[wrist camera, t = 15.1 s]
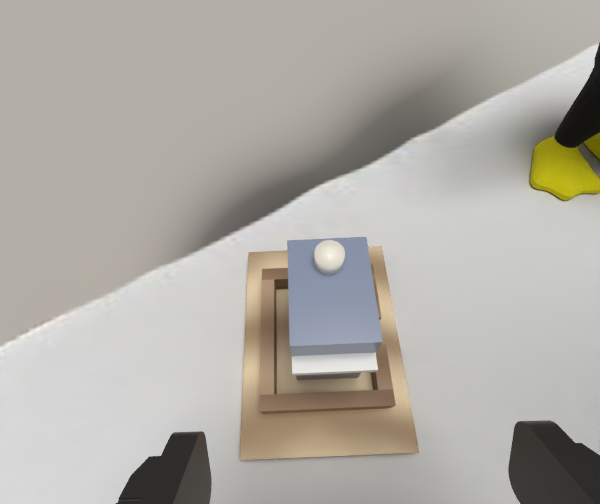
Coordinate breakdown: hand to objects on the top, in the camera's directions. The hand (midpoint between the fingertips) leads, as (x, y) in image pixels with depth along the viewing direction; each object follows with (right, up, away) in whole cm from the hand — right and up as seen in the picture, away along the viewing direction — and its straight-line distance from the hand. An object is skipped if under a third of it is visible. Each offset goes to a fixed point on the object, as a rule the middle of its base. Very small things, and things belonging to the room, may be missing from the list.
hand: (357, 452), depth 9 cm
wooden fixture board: (0, -2, +19) cm, 19 cm away
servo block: (0, -2, +18) cm, 18 cm away
